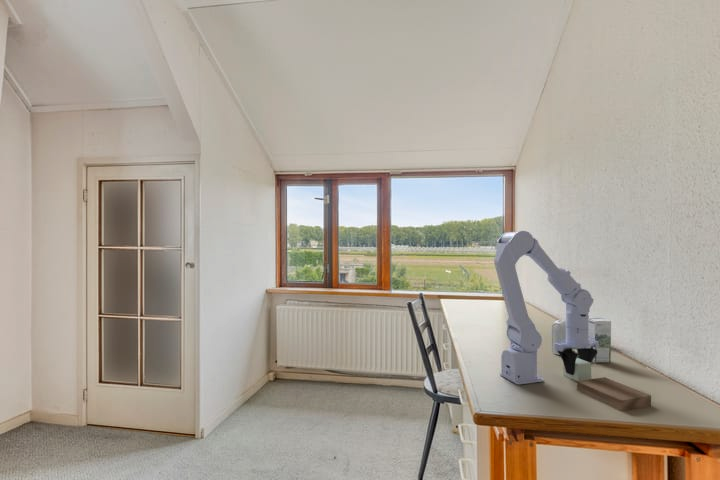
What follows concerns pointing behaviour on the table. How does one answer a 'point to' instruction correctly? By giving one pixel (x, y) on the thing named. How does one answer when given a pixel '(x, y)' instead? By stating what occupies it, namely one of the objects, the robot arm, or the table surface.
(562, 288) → the robot arm
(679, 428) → the table surface
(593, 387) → the walnut block
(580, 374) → the sage cube
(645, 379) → the table surface
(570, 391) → the table surface
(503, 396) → the table surface
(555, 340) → the photo printer
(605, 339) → the syrup box
